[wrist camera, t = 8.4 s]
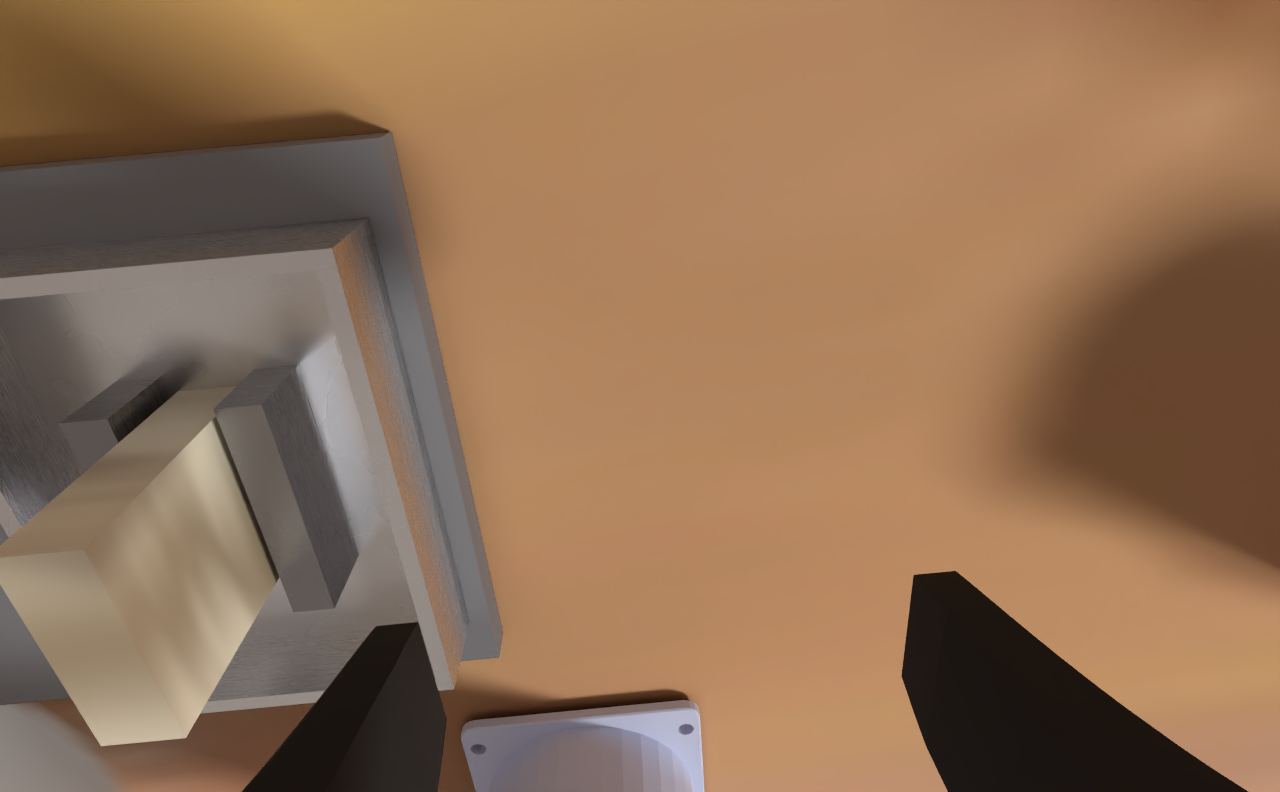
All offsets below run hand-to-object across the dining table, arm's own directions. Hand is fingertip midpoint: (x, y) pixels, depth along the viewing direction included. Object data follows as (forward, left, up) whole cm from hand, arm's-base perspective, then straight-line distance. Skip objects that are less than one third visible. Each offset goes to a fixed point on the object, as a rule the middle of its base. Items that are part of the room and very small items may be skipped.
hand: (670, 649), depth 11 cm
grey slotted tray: (-1, +10, -8) cm, 13 cm away
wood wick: (-1, +10, -8) cm, 13 cm away
